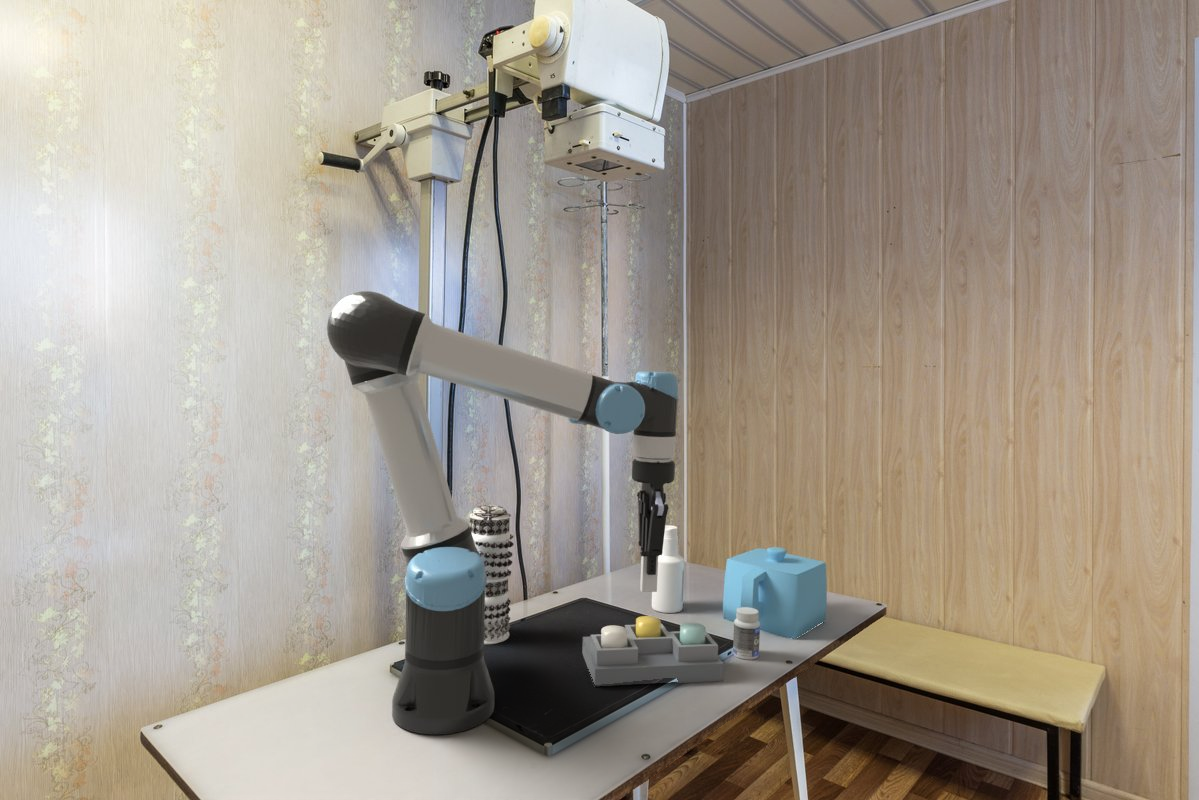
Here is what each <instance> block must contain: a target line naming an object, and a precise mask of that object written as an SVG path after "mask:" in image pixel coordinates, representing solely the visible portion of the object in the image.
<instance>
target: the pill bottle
mask: <svg viewBox="0 0 1199 800" xmlns="http://www.w3.org/2000/svg"><path fill="white" fill-rule="evenodd" d="M736 617H737V619H735V621H734V622H733V643H732V648H733V649H732V653H733V655H734V657H736V658H738V659H742V660H755V659H758V657H759V655H760V637H761V636H760V635H761V634H760V633H761V630H760V623H759V621H758V618H759V615H758V610H756V609H754V608H749V607H741V608H738V609H737V612H736Z"/></svg>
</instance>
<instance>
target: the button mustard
mask: <svg viewBox="0 0 1199 800" xmlns="http://www.w3.org/2000/svg"><path fill="white" fill-rule="evenodd" d="M661 622H662V620H661V619H660V618H658V617H656V616H652V615H651V616H650V615H642V616H638V617H637V618H635V625H636V637H637V638H643V637H660V631H661V624H662V623H661Z"/></svg>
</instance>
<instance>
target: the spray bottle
mask: <svg viewBox="0 0 1199 800" xmlns="http://www.w3.org/2000/svg"><path fill="white" fill-rule="evenodd" d="M662 551H663V552H662V555H659V556H658V576H657V592H651V608H652V610H654V611H656V612H658V613H664V614H675V613H679V612H681V611H682V610H683V608H684V605H683V604H684V601H683V600H684V585H685V584H684V583H685V582H684V580H685V579H684V577H685V576H684V575H685V558H684V557H683V556H681V555H680V554H679V537H678V526H676V525H671V524H668V525H667V524H665V532H664V541H663V550H662Z"/></svg>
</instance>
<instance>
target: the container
mask: <svg viewBox="0 0 1199 800" xmlns="http://www.w3.org/2000/svg"><path fill="white" fill-rule="evenodd" d="M826 563H827V562H824V561H822V560H817V559H813V558H808V557H804V556H800V555H795V554H791V553H787V549H785V548H784V547H779V546H772V547H768V548H766V549H765V548H761V547H758V548H755V549H752V550H748V551H746V552H743V553H740V554H738V555H734V556H732V557H729V558H727V559H726V564H725V566H726V567H725V574H724V582H723V583H724V585H723V600H722V615H723V616H722V617H723V619H724V620H727V621H730V622H733V623H734V621H735V619H737V617H736V612H737V609H738V608H741V607H749V608H754V609H756V610H758V615H759V618H758V621H759V623H760V631H762V632H765V633H769V634H773V635H776V636H779V637H783V638H787V637H788V638H787V639H790V638H792V639H791V640H797V639H798V638H797V637H799V636H801V635H802V634H804V633H806V632H807V631H809V630H811V629H812V628H814V627H815V626H817V625H818V624H820V623H822V622H824V621H825V622H826V615H827V600H828V599H827V596H828V595H827V593H828V592H827V591H828V590H827V588H828V585H827V564H826ZM825 622H824V623H825ZM811 631H812V630H811ZM806 634H807V633H806ZM804 635H805V634H804ZM801 637H802V636H801ZM796 638H797V639H796ZM799 638H800V637H799Z"/></svg>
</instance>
